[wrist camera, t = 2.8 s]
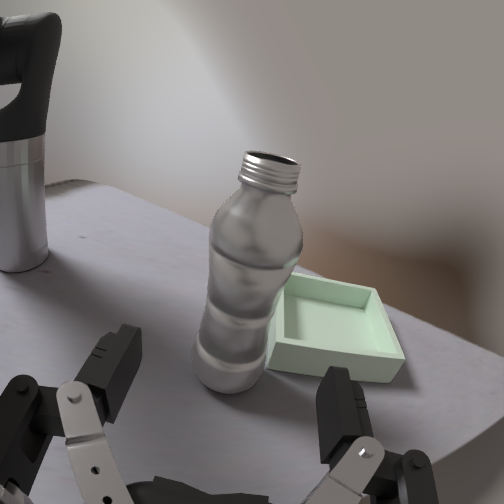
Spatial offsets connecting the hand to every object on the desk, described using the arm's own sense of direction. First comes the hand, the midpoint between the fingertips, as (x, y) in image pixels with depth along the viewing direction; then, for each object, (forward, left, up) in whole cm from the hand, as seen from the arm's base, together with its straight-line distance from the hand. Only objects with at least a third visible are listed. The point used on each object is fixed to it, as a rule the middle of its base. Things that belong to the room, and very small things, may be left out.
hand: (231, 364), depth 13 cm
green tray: (+11, +20, -13) cm, 26 cm away
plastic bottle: (0, +11, -14) cm, 17 cm away
